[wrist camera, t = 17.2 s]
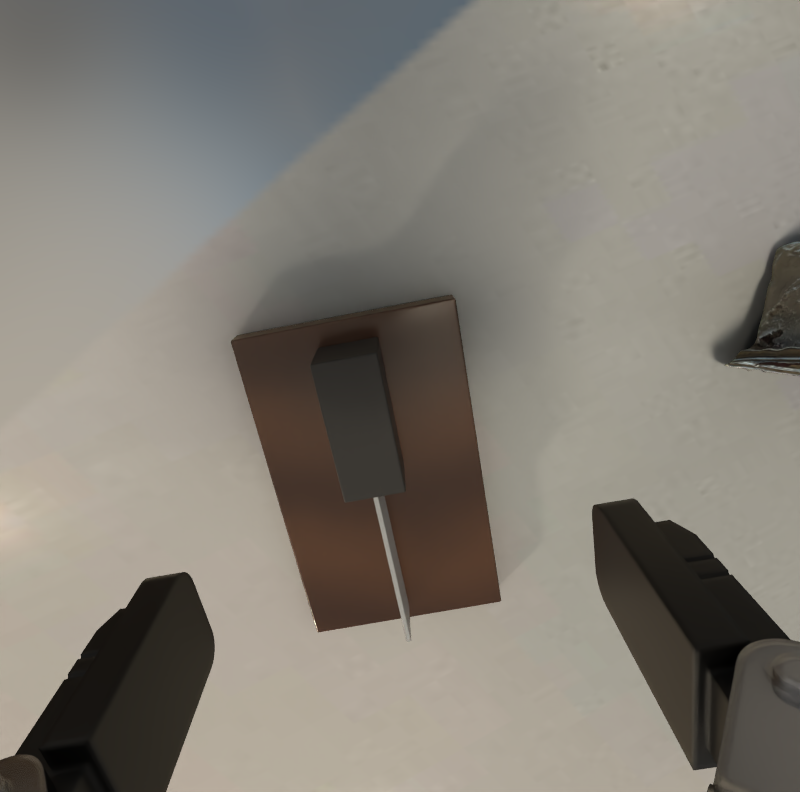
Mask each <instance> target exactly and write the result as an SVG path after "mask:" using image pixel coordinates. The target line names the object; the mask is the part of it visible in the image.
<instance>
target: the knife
mask: <svg viewBox="0 0 800 792" xmlns="http://www.w3.org/2000/svg"><path fill="white" fill-rule="evenodd" d="M310 369H311V373H312V377H313V380H314V384H315V388H316V392H317V396H318V400H319V404H320V408H321V412H322V416H323V420H324V424H325V428H326V432H327V436H328V440H329V444H330V448H331V451H332V455H333V459H334V463H335V467H336V471H337V475H338V479H339V483H340V487H341V491H342V495H343V499H344V502H345V503H347V502H353V501H358V500H364V499H369V498H373V499H374V503H375V507H376V512H377V516H378V520H379V525H380V529H381V533H382V538H383V542H384V546H385V550H386V555H387V559H388V563H389V568H390V572H391V576H392V581H393V585H394V589H395V593H396V598H397V602H398V606H399V611H400V615H401V619H402V624H403V628H404V632H405V636H406V641H407V642H410V641H411V631H410V614H409V603H408V599H407V594H406V590H405V585H404V581H403V576H402V572H401V567H400V563H399V559H398V554H397V550H396V545H395V541H394V536H393V532H392V527H391V523H390V518H389V514H388V510H387V505H386V501H385V496H386V495H392V494H397V493H403V492H405V491H406V485H405V471H404V461H403V456H402V452H401V447H400V442H399V437H398V432H397V427H396V422H395V418H394V413H393V408H392V403H391V398H390V393H389V388H388V384H387V379H386V374H385V369H384V364H383V359H382V354H381V350H380V345H379V340H378V337H373V338H368V339H363V340H357V341H352V342H347V343H341V344H336V345H331V346H326V347H320V348H318V349H317V351H316V353H315V355H314V358H313V360H312V362H311V364H310Z"/></svg>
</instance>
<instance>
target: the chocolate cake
mask: <svg viewBox="0 0 800 792" xmlns="http://www.w3.org/2000/svg"><path fill="white" fill-rule="evenodd" d="M726 365H727V366H729V367H738V368H745V369H748V370H753V369H756V370H757V369H759V370H763V372H773V373H780V374H790V375H793V376H796V375H797V376H800V241H799V242H793V243H790V244H787V245H784V246H781V247H779V248H778V249H777V251H776V253H775V258H774V261H773V265H772V278H771V281H770V283H769V285H768V289H767V295H766V300H765V306H764V311H763V315H762V319H761V322H760V326H759V329H758V335H757V339H756V342H755V344H754V345H753V346H752V347H751V348H749V349H746V350H742V351H741V352H739V354H738V355H737V356H736V358H735V359H734V360H733V361H731V362H730V363H728V364H726Z"/></svg>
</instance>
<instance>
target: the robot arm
mask: <svg viewBox="0 0 800 792" xmlns="http://www.w3.org/2000/svg"><path fill="white" fill-rule="evenodd" d="M592 520H593V535H594V551H595V566H596V575H597V580H598V585H599V588H600V592H601V595H602V597H603V600H604V602H605V604H606V606H607V608H608V610H609V612H610V614H611V616H612V618H613V619H614V621H615V623H616V625H617V627H618V629H619V631H620V633H621V635H622V636H623V638H624V640H625V642H626V644H627V646H628V648H629V650H630V651H631V653H632V655H633V657H634V659H635V661H636V663H637V665H638V667H639V668H640V670H641V672H642V674H643V676H644V678H645V680H646V682H647V684H648V685H649V687H650V689H651V691H652V693H653V695H654V697H655V699H656V700H657V702H658V704H659V706H660V708H661V710H662V712H663V714H664V716H665V717H666V719H667V721H668V723H669V725H670V727H671V729H672V731H673V733H674V734H675V736H676V738H677V740H678V742H679V744H680V746H681V748H682V750H683V751H684V753H685V755H686V757H687V759H688V761H689V763H690V765H691V766H692V768H693V770H698V769H705V768H712V767H717V769H716V774H715V779H714V783H713V785H712V784H710V785H709V787H708V790H707V792H800V642H798V641H793V640H790V639H789V637H788V636H787V635H786V634H785V633H784V632H783V631H782V630H781V629H780V628H779V626H778V625H777V624H776V623H775V622H774V621H773V620H772V619H771V618H770V616H769V615H768V614H767V613H766V612H765V611H764V610H763V609H762V608H761V606H760V605H759V604H758V603H757V602H756V601H755V600H754V599H753V598H752V596H751V595H750V594H749V593H748V592H747V591H746V590H745V589H744V588H743V586H742V585H741V584H740V583H739V582H738V581H737V580H736V579H735V578H734V576H733V575H729V573H728V570H727V569H726V568H725V566H724V565H723V564H722V563H721V562H720V561H719V560H718V559H717V558H714V555H713V553H712V552H711V551H710V550H709V549H708V548H707V546H706V545H705V544H704V543H703V542H702V541H701V540H700V539H699V538H698V536H697V535H696V534H694V533H692V532H690V531H688V530H687V529H685V528H683V527H681V526H680V525H678V524H676V523H674V522H672V521H671V520H667V521H661V522H654V521H653V520H652V518H651V517H650V516H649V515H648V513H647V512H646V511H645V510H644V508H643V507H642V506H641V505H640V504H639V502H638V501H637V500H635V499H627V500H621V501H615V502H609V503H603V504H597V505H594V506H593V509H592ZM214 651H215V645H214V636H213V632H212V629H211V626H210V624H209V621H208V619H207V616H206V613H205V611H204V608H203V606H202V603H201V600H200V598H199V595H198V593H197V590H196V587H195V585H194V582H193V580H192V578H191V576H190V575H189V574H188V573H186V572H182V573H176V574H170V575H164V576H158V577H152V578H147V579H145V580H144V581H143V582H142V583H141V585H140V586H139V588H138V589H137V591H136V593H135V594H134V596H133V597H132V599H131V601H130V602H129V604H128V605H127V607H126V608H125V609H120V610H119V611H118V612H117V613H115V614H114V615H113V616H112V617H111V618H110V619H109V620H108V621H107V622H106V623H105V624H104V625H102V626H101V627H100V628H99V629H98V630H97V631H96V633H95V634H94V636H93V637H92V639H91V640H90V642H89V643H88V645H87V646H86V648H85V649H84V651H83V652H82V654H81V659H78V660H77V661H76V663H75V664H74V666H73V667H72V669H71V671H70V672H69V674H68V679H66V680H64V681H63V683H62V684H61V686H60V687H59V689H58V690H57V692H56V693H55V695H54V696H53V698H52V699H51V701H50V702H49V704H48V705H47V707H46V709H45V710H44V712H43V713H42V715H41V716H40V718H39V719H38V721H37V722H36V724H35V725H34V727H33V728H32V730H31V731H30V733H29V734H28V736H27V737H26V739H25V740H24V742H23V743H22V745H21V747H20V748H19V750H18V751H17V753H16V754H15V756H11V757H8V758H5V759H2V760H0V792H166V790H167V787H168V785H169V782H170V779H171V777H172V774H173V771H174V768H175V766H176V763H177V760H178V757H179V755H180V752H181V749H182V747H183V744H184V741H185V738H186V736H187V733H188V730H189V727H190V725H191V722H192V719H193V717H194V714H195V711H196V708H197V706H198V703H199V700H200V697H201V695H202V692H203V689H204V686H205V684H206V681H207V678H208V676H209V673H210V670H211V667H212V664H213V660H214Z"/></svg>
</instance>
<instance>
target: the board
mask: <svg viewBox="0 0 800 792" xmlns="http://www.w3.org/2000/svg"><path fill="white" fill-rule="evenodd" d="M373 337H378V340H379V345H380V350H381V354H382V359H383V364H384V369H385V374H386V379H387V384H388V388H389V393H390V398H391V403H392V408H393V413H394V418H395V422H396V427H397V432H398V437H399V442H400V447H401V452H402V456H403V461H404V471H405V485H406V491H405V492H403V493H397V494H392V495H386V496H385V501H386V505H387V510H388V514H389V518H390V523H391V527H392V532H393V536H394V541H395V545H396V550H397V554H398V559H399V563H400V567H401V572H402V576H403V581H404V585H405V590H406V594H407V599H408V603H409V614H410V617H412V616H418V615H423V614H429V613H435V612H441V611H447V610H453V609H459V608H465V607H471V606H477V605H483V604H488V603H494V602H500V601H501V596H500V590H499V583H498V577H497V570H496V563H495V557H494V550H493V544H492V537H491V530H490V524H489V517H488V511H487V504H486V497H485V491H484V484H483V478H482V471H481V464H480V458H479V451H478V445H477V438H476V431H475V425H474V418H473V412H472V405H471V398H470V392H469V385H468V379H467V372H466V365H465V359H464V352H463V346H462V339H461V333H460V326H459V319H458V313H457V306H456V300H455V298H454V297H453V295H447V296H441V297H436V298H431V299H426V300H420V301H415V302H410V303H405V304H399V305H394V306H389V307H384V308H378V309H373V310H368V311H363V312H357V313H352V314H347V315H342V316H336V317H331V318H326V319H321V320H315V321H310V322H305V323H300V324H294V325H289V326H284V327H279V328H273V329H268V330H263V331H258V332H252V333H247V334H242V335H237V336H236V337H235V338H234V339H233V340H232V341H231V344H232V347H233V351H234V354H235V357H236V361H237V364H238V367H239V371H240V374H241V377H242V381H243V384H244V388H245V391H246V394H247V398H248V401H249V404H250V408H251V411H252V414H253V418H254V421H255V424H256V428H257V431H258V435H259V438H260V441H261V445H262V448H263V451H264V455H265V458H266V461H267V465H268V468H269V471H270V475H271V478H272V482H273V485H274V488H275V492H276V495H277V498H278V502H279V505H280V508H281V512H282V515H283V518H284V522H285V525H286V529H287V532H288V535H289V539H290V542H291V545H292V549H293V552H294V555H295V559H296V562H297V565H298V569H299V572H300V576H301V579H302V582H303V586H304V589H305V592H306V596H307V599H308V602H309V606H310V609H311V612H312V616H313V619H314V623H315V626H316V629H317V632H323V631H329V630H335V629H341V628H347V627H352V626H358V625H364V624H370V623H376V622H382V621H388V620H394V619H400V618H401V615H400V611H399V606H398V602H397V598H396V593H395V589H394V585H393V581H392V576H391V572H390V568H389V563H388V559H387V555H386V550H385V546H384V542H383V538H382V533H381V529H380V525H379V520H378V516H377V512H376V507H375V503H374V499H373V498H369V499H364V500H358V501H353V502H347V503H345V502H344V499H343V495H342V491H341V487H340V483H339V479H338V475H337V471H336V467H335V463H334V459H333V455H332V451H331V448H330V444H329V440H328V436H327V432H326V428H325V424H324V420H323V416H322V412H321V408H320V404H319V400H318V396H317V392H316V388H315V384H314V380H313V377H312V373H311V369H310V364H311V362H312V360H313V358H314V355H315V353H316V351H317V349H318V348H320V347H326V346H331V345H336V344H341V343H347V342H352V341H357V340H363V339H368V338H373Z"/></svg>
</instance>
